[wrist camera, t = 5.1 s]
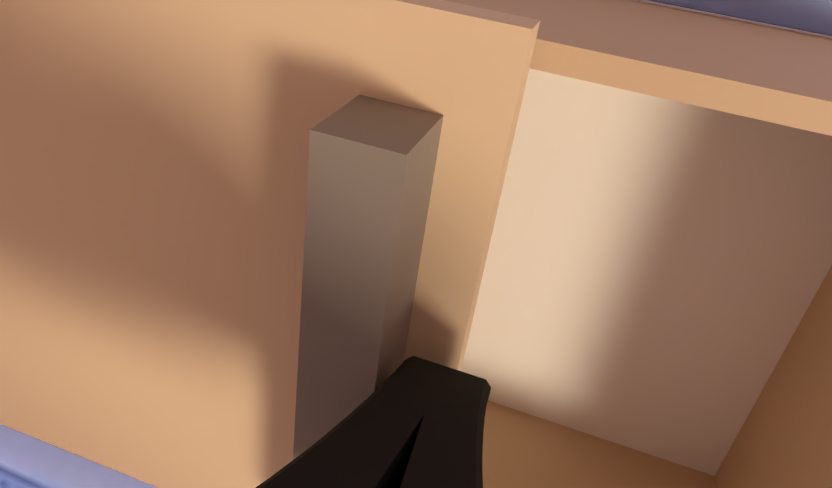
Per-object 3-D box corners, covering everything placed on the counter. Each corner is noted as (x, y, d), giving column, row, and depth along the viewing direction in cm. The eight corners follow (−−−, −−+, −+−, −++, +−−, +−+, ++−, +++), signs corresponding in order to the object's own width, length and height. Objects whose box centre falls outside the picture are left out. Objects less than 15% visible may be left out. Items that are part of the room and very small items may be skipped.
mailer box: (959, 60, 12) (1124, 165, 7) (723, 477, 17) (742, 667, 13) (331, -62, 14) (190, -36, 10) (307, 338, 20) (211, 461, 16)
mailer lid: (540, 19, 8) (507, 57, 7) (417, 563, 14) (383, 658, 13) (-207, -135, 11) (-373, -138, 9) (-45, 382, 17) (-126, 439, 15)
